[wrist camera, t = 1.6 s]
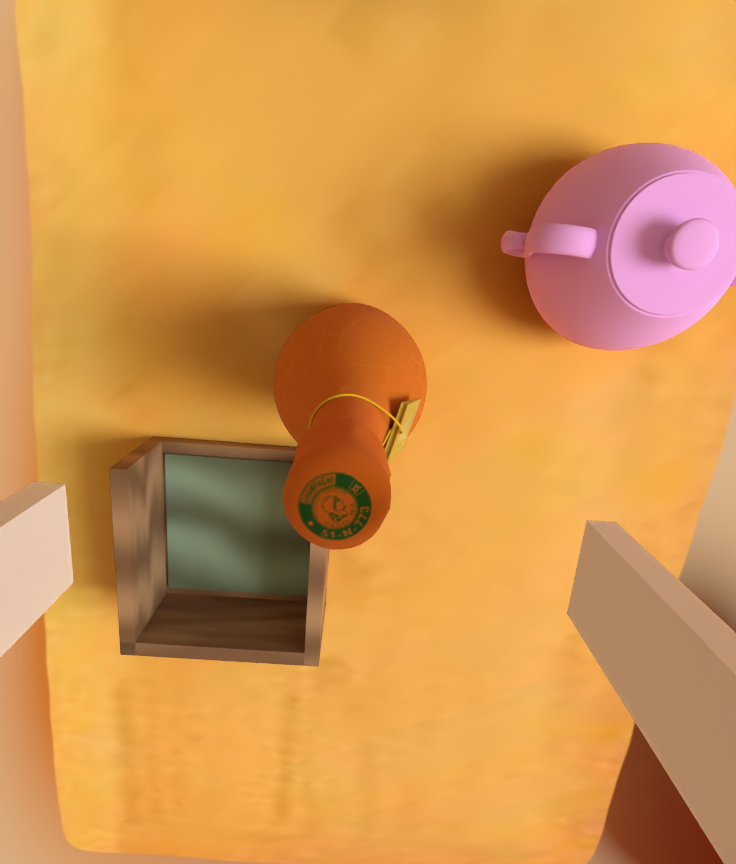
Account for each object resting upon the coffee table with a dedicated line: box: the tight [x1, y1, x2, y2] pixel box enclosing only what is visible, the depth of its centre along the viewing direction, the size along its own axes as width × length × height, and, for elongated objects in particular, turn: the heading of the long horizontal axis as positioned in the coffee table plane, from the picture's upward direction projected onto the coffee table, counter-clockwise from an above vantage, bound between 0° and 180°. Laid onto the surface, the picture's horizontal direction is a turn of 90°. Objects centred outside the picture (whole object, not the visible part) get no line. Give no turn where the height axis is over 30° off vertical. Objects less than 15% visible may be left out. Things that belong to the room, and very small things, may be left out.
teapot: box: [501, 143, 736, 350], centre depth 36 cm, size 20×14×12 cm
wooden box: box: [109, 436, 329, 666], centre depth 44 cm, size 16×16×8 cm
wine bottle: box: [274, 303, 427, 549], centre depth 29 cm, size 10×10×30 cm
